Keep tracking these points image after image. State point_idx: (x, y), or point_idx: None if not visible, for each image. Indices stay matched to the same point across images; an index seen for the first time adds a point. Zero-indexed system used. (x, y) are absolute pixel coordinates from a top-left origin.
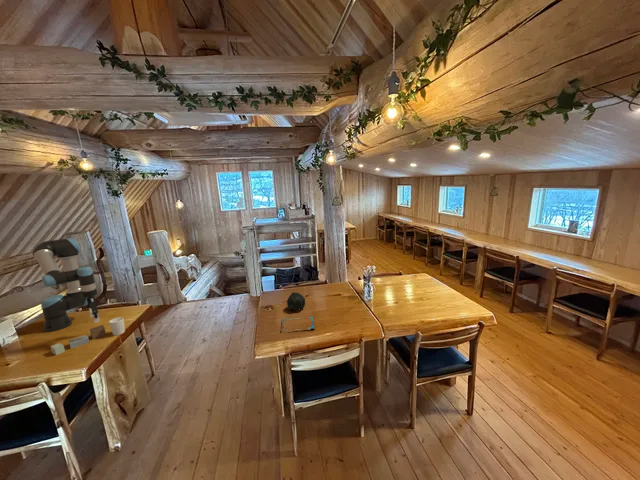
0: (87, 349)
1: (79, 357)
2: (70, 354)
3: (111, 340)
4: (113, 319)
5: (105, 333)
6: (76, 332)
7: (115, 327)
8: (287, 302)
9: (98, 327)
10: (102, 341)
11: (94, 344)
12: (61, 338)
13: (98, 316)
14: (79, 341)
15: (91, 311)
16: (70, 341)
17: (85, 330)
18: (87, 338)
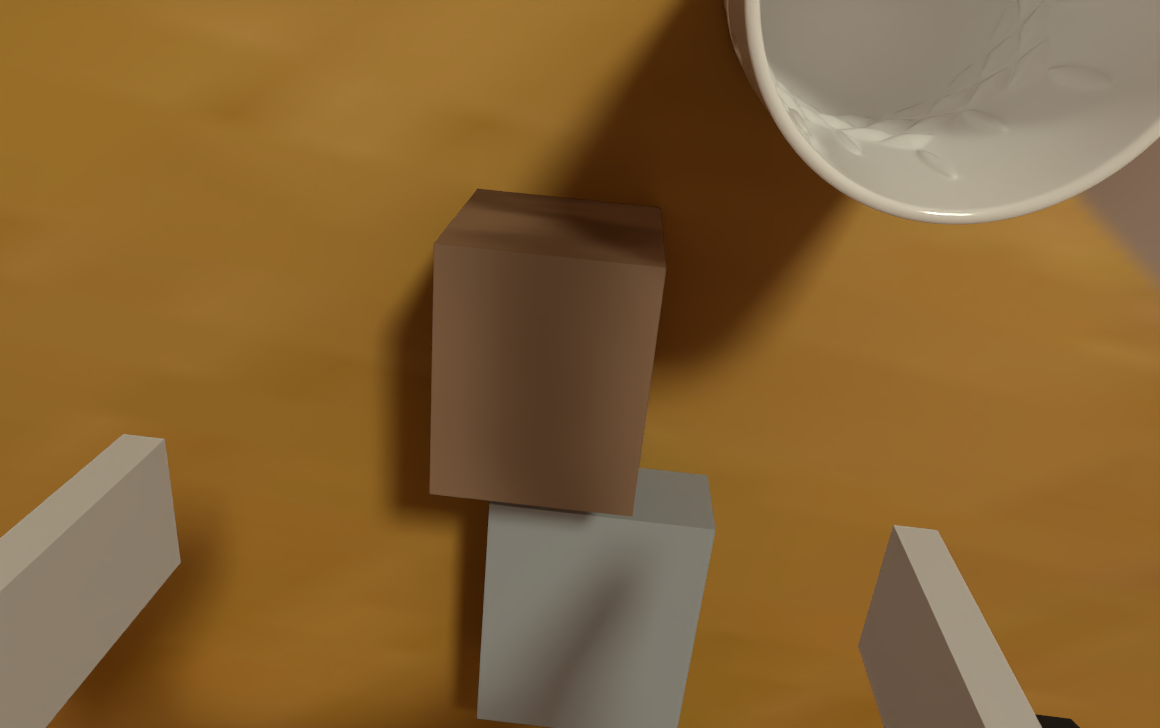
0: (976, 561)
1: (1135, 681)
2: (878, 716)
3: (1076, 220)
4: (759, 28)
5: (661, 221)
6: (8, 491)
7: (1061, 88)
8: None
9: (530, 358)
10: (920, 338)
11: (896, 453)
12: (100, 660)
13: (1023, 706)
14: (693, 637)
15: (23, 699)
16: (555, 713)
17: (30, 382)
18: (710, 543)
